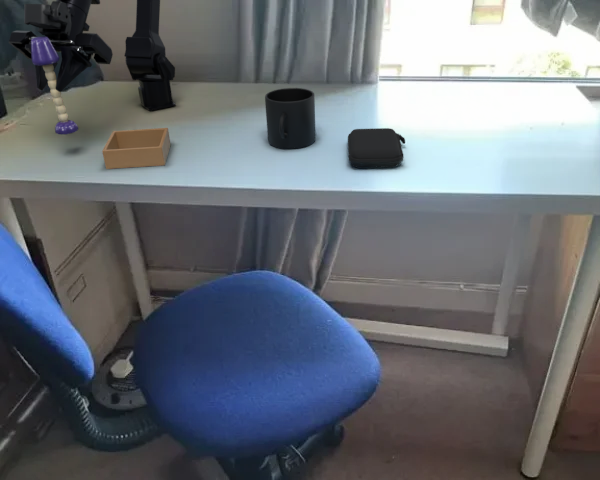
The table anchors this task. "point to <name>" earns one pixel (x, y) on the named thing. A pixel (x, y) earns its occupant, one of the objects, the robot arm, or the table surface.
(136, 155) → the box
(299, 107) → the mug
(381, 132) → the carrying case
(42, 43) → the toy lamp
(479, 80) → the table surface
